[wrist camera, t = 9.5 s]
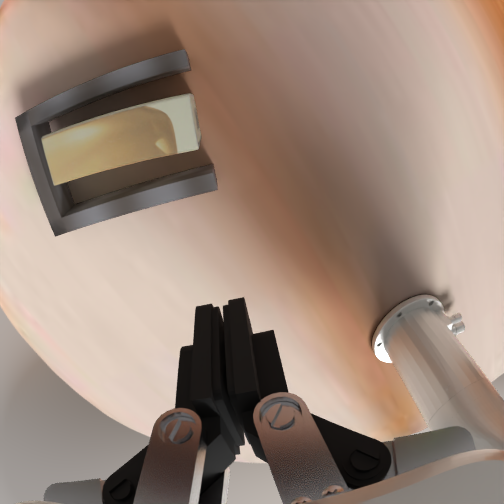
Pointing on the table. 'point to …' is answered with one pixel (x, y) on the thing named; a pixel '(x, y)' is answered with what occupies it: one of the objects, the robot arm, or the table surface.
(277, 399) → the robot arm
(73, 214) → the u rest
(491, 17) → the table surface
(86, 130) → the skincare box
